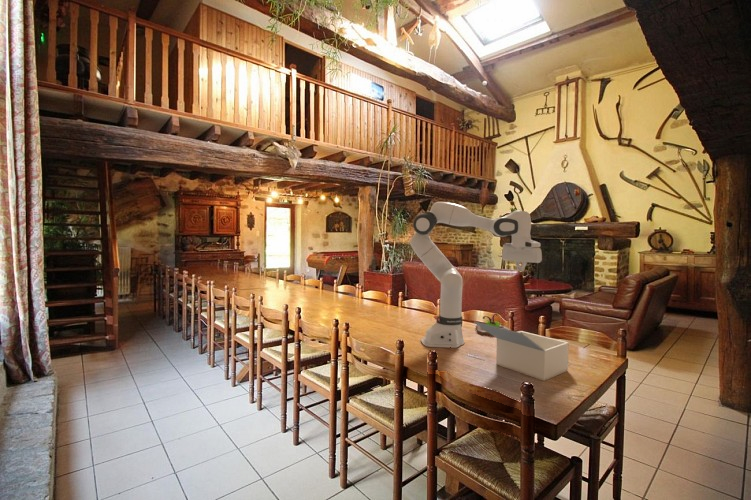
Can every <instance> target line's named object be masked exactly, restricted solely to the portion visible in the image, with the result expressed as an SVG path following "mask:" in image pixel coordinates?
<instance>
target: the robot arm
mask: <svg viewBox="0 0 751 500" xmlns="http://www.w3.org/2000/svg"><path fill="white" fill-rule="evenodd" d="M437 224H445V225H450V226H452V227H453V226H455V227H473V228H477V229H478V228H479V229H482V230H485V231H488V232H489V233H491V234H492V235H493V236H496V237H498V238H503V237H507V236H511V242H505V243H503V245H502V252H501V259H502V261H506V262H507V261H508V262H514V264H515V266H516V270H517V271H519V272H524V271H525V268H526V266H527V263H533V264H534V263H535V264H540V263H541V262H542V261H543V254H542V253H543V252H542V249H541V246H542V245H541V242H538V241H536V240H533V239H532V237H531V229H532V220H531V214H530V213H529V212H528V211H525V210H514V211H513V212H511V213H509V214H506V215H504V216H501V217H496V218H488V217H485V216H481V215H478V214H476V213H473V212H472V211H471V210H470V209H469V208H467V207H465V206H463V205H460V204H457V203H453V202H447V201H446V202H445V201H436V202H434V203H433V204H432V205H431V208H430V211H427V212H422V213H418V214H417V215H416V216H415V217H414V219H413V222H412V227H413V230H414V232H415V233H414V235H412V237H410V241H409V244H410V247H411V249H412V250H413V252H414V253H415V255H416V256H417V257H418V258H419V259H420V261H421V262H422V263H423V264H424V266H425V267H426V268H427V269H428V271H430V272H431V274H432V275H433V276H434V277H435V278H436V279H437V281H439V283H440V297H439V315H436V314H435V315H434V316H433V318H434V320H436V322H435V323H433V324H432V325H431V326H430V327H428V328H427V329H426V331H425V336H424V337H422V338H421V339H420V341H421V343H422V344H423V345H424V346H425V347H427V348H450V347H451V349H452V348H454V349H457V348H459V347H460V346H462V345H463V346H464V344H465V340H464V337H463V336H464V335H463V328H462V327H463V316H462V304H463V303H462V301H463V287H464V286H463V285H464V284H463V283H464V282H463V281H464V279H463V277H462V275H461V274H460V272H459V271H458V270H457V269H456V268H455V266H454V265H453V264H452V263H451V262H450V260H449V259H448V258H447V257H446V256H445V255H444V253H443V252H442V251H441V250H440V249H439V248H438V246H437V245H436V243H434V242H433V240H432V239H431V237H430V235H431V233H432V231H433V230H434V229H435V226H436V225H437ZM520 263H521V266H520Z"/></svg>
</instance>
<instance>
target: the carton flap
mask: <svg viewBox="0 0 751 500" xmlns="http://www.w3.org/2000/svg"><path fill="white" fill-rule="evenodd" d="M473 323H474V324H475V325H478V326H480V327H481V328H483V329H484V330H485V331H487V332H488V333H490V334H491V335H493V336H494V338H496V339H497V338H498V339H502V340H505V341H509V342H512V343H516V344H520V345H523V346H527V347H530V348H534V349H537V350H541V351H545V350H544V349H542V348H541V347H540V346H538V345H537V344H536V343H534V342H533V341H532V340H530V339H529V338H528V337H527V336H525V335H524V334H523V333H519V331H516V330H507V329H503V328H499V327H495V326H491V325H487V323H486V324H485V323H483V322H479V321H476V320H475V321H473Z"/></svg>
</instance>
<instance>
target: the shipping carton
mask: <svg viewBox="0 0 751 500" xmlns="http://www.w3.org/2000/svg"><path fill="white" fill-rule="evenodd" d="M518 332H519V333H523V334H524V335H525V336H527V337H528V338H529V339H530V340H532V341H533V342H534V343H536V344H537V345H538V346H540V347H541V348H542V349H544V350H545V351H541V350H537V349H534V348H530V347H527V346H523V345H520V344H516V343H512V342H509V341H505V340H502V339H498V338H496V366H500V367H503V368H506V369H508V370H511V371H514V372H517V373H520V374H522V375H526V376H529V377H532V378H533V379H537V380H540V381H543V382H545V381H548V380H550V379H552V378H555V377H556V376H559V375H561V374H564V373H566V372H568V371H569V370H568V368H569V367H568V366H569V365H568V364H569V358H570V357H569V354H570V353H569V350H570V342H568V341H564V340H560V339H556V338H552V337H547V336H544V335H540V334H535V333H531V332H527V331H524V330H519V331H518Z"/></svg>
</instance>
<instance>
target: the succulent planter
mask: <svg viewBox="0 0 751 500" xmlns="http://www.w3.org/2000/svg"><path fill="white" fill-rule="evenodd" d="M495 316H496V318H497V317H500V315H499V313H494V314H493V315H492V318H491V317H489V316H487V315H484V316H482V319H483V320H485V319H486V318H488V320H486V322H484V324H487V325H491V326H495V327H499V328H503V329H507V330H511V328H510V327H508V326H506V325H502V323H500V322H499V321H497V320H495ZM475 330H476V332H475V333H476V334H478V335H480V336H487V337H492V336H493V335H491V334H490V333H488V332H487V331H485V330H484V329H483V328H481V327H480V326H478V325H477V324H475ZM511 331H512V330H511ZM493 337H494V336H493ZM494 338H495V337H494Z"/></svg>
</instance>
